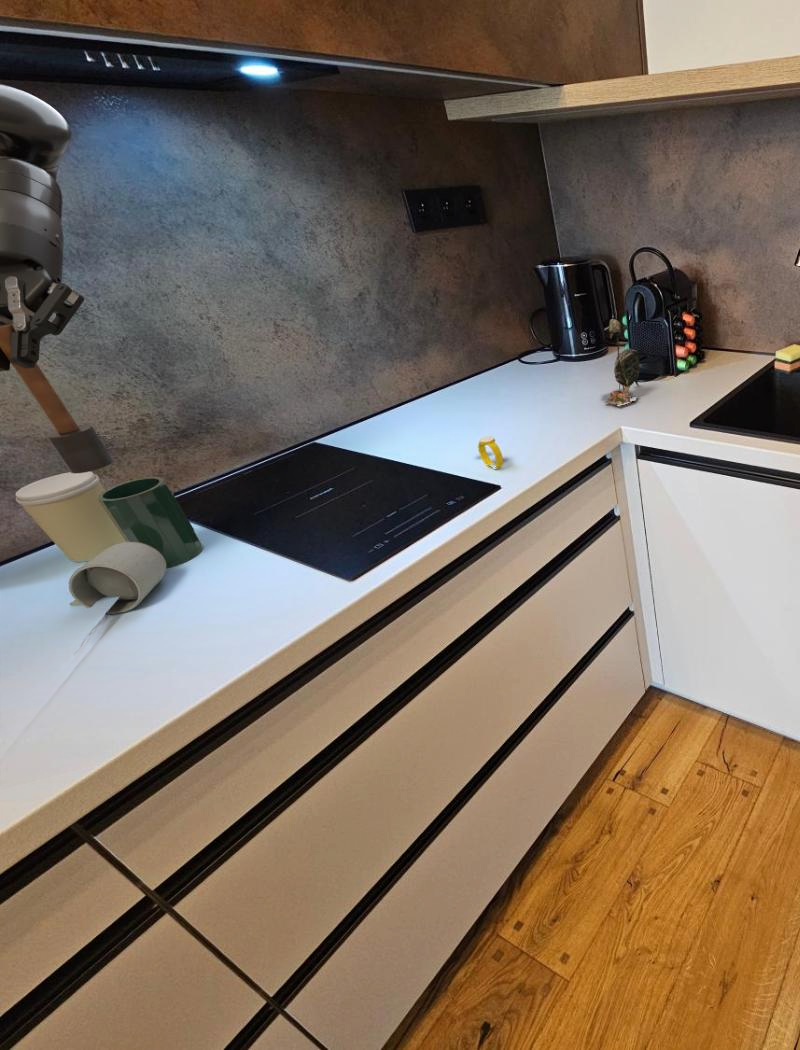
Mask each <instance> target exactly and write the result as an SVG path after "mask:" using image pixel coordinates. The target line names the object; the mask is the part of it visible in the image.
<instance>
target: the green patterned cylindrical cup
mask: <svg viewBox="0 0 800 1050" xmlns="http://www.w3.org/2000/svg"><path fill="white" fill-rule="evenodd" d="M104 490H105V491H103V492H102V493H101V494H100V495H98V501H99V502H100V504H101V505H102V507H103V508H104V510H105V511H106V513H107V514H108V516H109V517H110V518H111V520H112V521H113V523H114V524H115V526H116V527H117V529H118V530H119V532H120V533H121V535H122V536H123V538H124V539H125V541H126V542H140V543H144V544H146V545H149V546H151V547H153V548H155V549H156V550H158V551H159V552H160V553H161V554H162V556H163V557H164V559H165V561H166V569H169V568H173V567H176V566H179V565H182V564H184V563H187V562H188V561H190V560H192V559H194V558H195V557H198V556H199V555H200V554H201V553H202V552H203V550H204V549H205V548H204V544H203V543H202V540H201V539H200V537H199V535H198V533H197V532H196V530H195V528H194V526H193V525H192V524H191V522H190V520H189V518H188V517H187V515H186V513H185V511H184V509H183V508H182V506H181V505H180V503H179V502H178V500H177V498H176V497H175V494H174V493H173V491H172V490H171V488H170V486H169V485H168V483H167V481H166V480H165V478H164V477H160V476H148V477H147V476H146V477H141V478H135V479H132V480H129V481H124V482H122V483H119V484H116V485H114V486H111V487H110V488H107V489H104Z"/></svg>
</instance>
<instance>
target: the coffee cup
mask: <svg viewBox="0 0 800 1050" xmlns="http://www.w3.org/2000/svg"><path fill="white" fill-rule="evenodd" d="M105 490H106V489H105V488H104V486H103V484H102V483H101V479H100V477H99V476H98V475H97V474H95V473H94V472H93V471H90V472H85V473H71V472H70V471H69V472H64V473H60V474H55V475H52V476H49V477H45V478H41V479H39V480H36V481H34V482H30V483H29V484H26V485H25V486H23V487H21V488H19V489H18V490H17V491H16V492H15V501H16V503H18V505H20V506H22V507H23V509H24V510H25V511H26V512H27V513H28V514H29V516H30V517H31V518H32V519H33V520H34V522H35V523H36V524H37V525H38V526H39V527H40V528H41V529H42V531H43V532H44V533H45V534H46V535H47V536H48V537H49V539H50V540H51V541H52V542H53V543H54V544H55V545H56V546H57V547H58V549H59V550H60V551H61V552H62V553H63V554H64V556H66V557H67V558H68V559H69V560H70V561H71V562H73V563H87V562H89V561H90V560H92V559H93V558H95V557H96V556H98V555H99V554H100V553H101V552H103V551H105V550H106V549H108V548H109V547H112V546H114V545H116V544H120V543H124V542H126V541H125V539H124V538H123V536H122V535H121V533H120V532H119V530H118V529H117V527H116V526H115V524H114V523H113V521H112V520H111V518H110V517H109V516H108V514H107V513H106V511H105V510H104V508H103V507H102V505H101V504H100V502H99V501H98V495H100V494H101V493H102V492H103V491H105Z"/></svg>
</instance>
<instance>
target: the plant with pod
mask: <svg viewBox="0 0 800 1050" xmlns="http://www.w3.org/2000/svg"><path fill="white" fill-rule="evenodd" d="M621 332H622V331H621V323H620V321H619V320H618V319H615V318H611V319H609V323H608V333H610V334H609V339H612V338H613V336H614V337H615V339H616V348H617V349H616V350H617V356H616V358H615V361H614V369H613V373H614V379H615V381H616V383H618V389H619V390H613V391H611V392H610V396H609V397H607V398H606V399H604V402H605V401H606V402H605V403H604V404H609V405H612V406H616V405H620V404H624V403H627V402H631V401H630V397H629V396H630V393H629V390H630V388H631V386H632V385H633V384H634V383H635V384H636V386H637V387H639V386H640V385H639V383H638V379H639V375H640V373H641V372H640V368H641V366H640V360H639V359H640V358H639V352H638V351H637V350H635V348H634V349H633V348H625V350H623V351H622V352H620V344H619V336H620V334H621ZM621 386H622V390H621Z"/></svg>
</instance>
